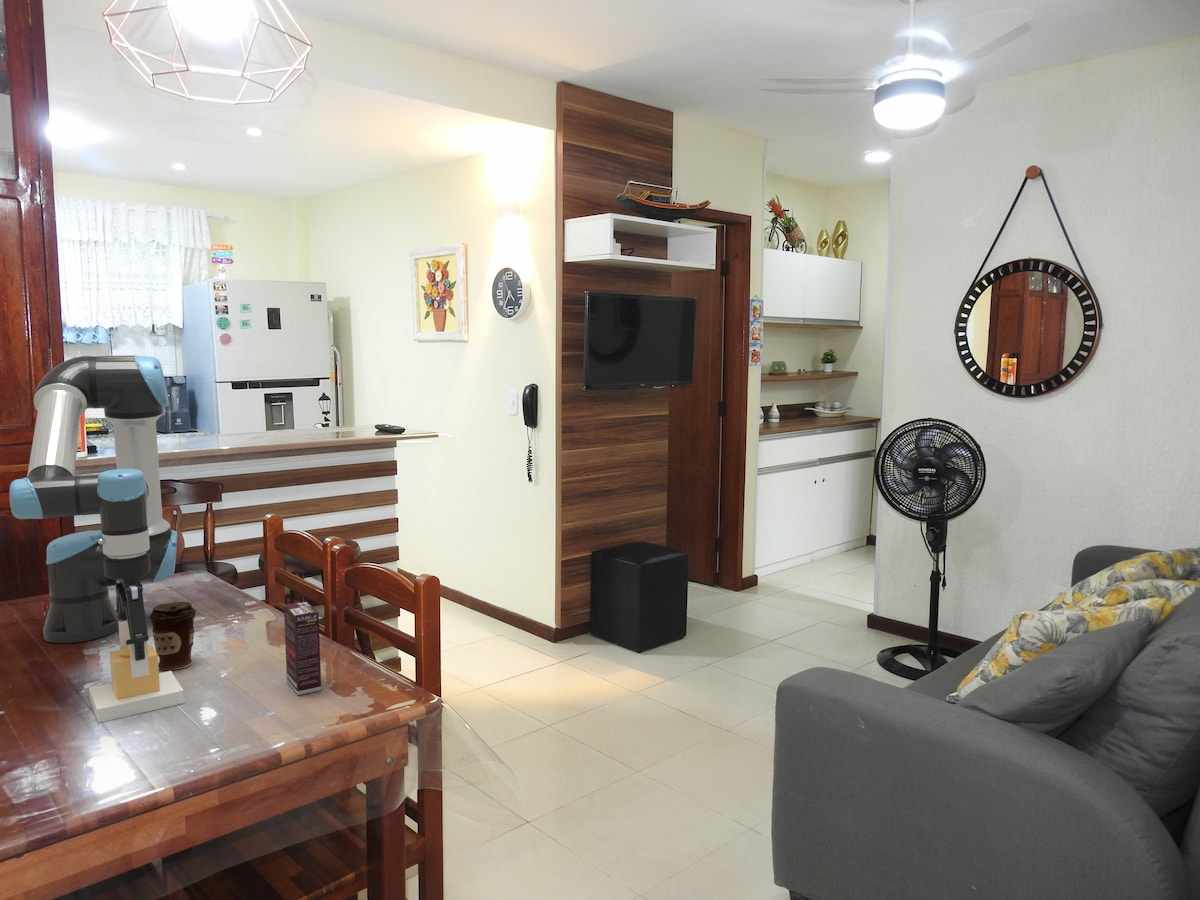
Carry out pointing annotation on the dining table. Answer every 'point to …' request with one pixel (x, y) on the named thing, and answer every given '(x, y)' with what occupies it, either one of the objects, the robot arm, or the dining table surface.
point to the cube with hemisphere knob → (123, 678)
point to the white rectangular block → (135, 699)
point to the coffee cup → (173, 634)
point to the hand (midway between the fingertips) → (134, 663)
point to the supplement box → (302, 647)
